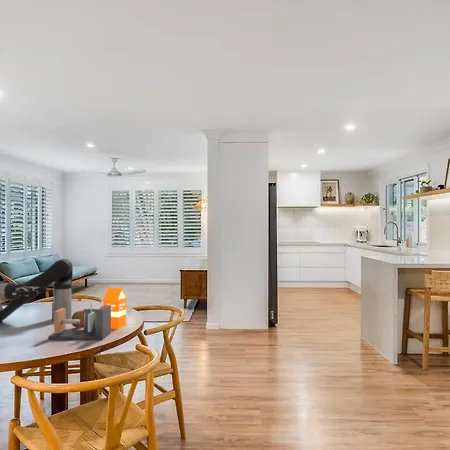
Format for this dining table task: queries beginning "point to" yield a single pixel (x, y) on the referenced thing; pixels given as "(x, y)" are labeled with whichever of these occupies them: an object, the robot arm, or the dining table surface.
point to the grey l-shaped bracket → (98, 333)
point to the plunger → (62, 320)
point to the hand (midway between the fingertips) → (41, 291)
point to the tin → (79, 316)
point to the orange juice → (116, 306)
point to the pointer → (91, 320)
